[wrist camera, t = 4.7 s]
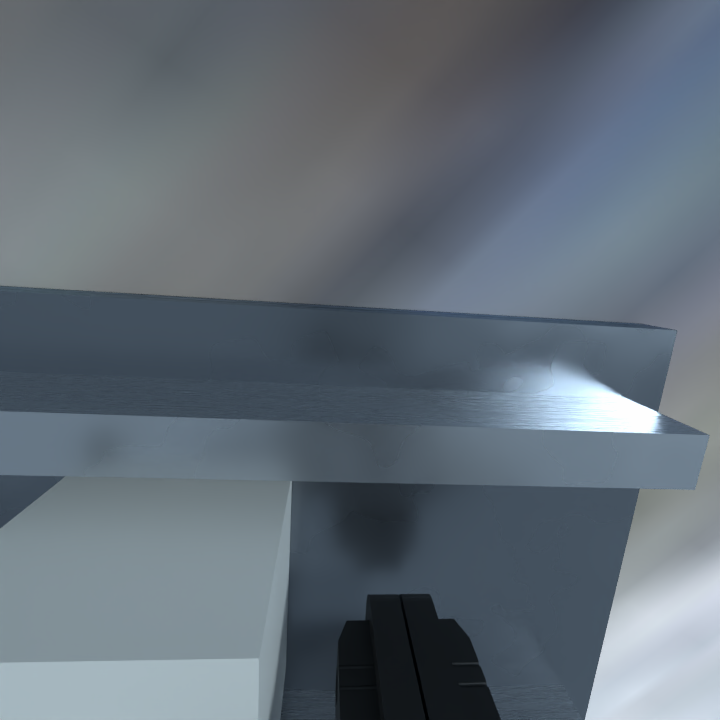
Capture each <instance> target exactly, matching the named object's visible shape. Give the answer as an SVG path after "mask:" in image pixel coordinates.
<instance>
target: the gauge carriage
mask: <svg viewBox="0 0 720 720" xmlns="http://www.w3.org/2000/svg"><path fill="white" fill-rule="evenodd" d="M291 495H292V481H263V480H216V479H168V478H121V477H74V476H65V477H64V478H63V479H62V480H60V481H59V482H58V483H57V484H55V485H54V486H53V487H52V488H50V489H49V490H48V491H47V492H45V493H44V494H43V495H42V496H40V497H39V498H38V499H37V500H35V501H34V502H33V503H32V504H30V505H29V506H28V507H27V508H25V509H24V510H23V511H22V512H20V513H19V514H18V515H17V516H15V517H14V518H13V519H12V520H10V521H9V522H8V523H7V524H5V525H4V526H3V527H2V528H0V720H280V718H281V708H282V699H283V689H284V680H285V671H286V650H287V619H288V588H289V557H290V526H291Z"/></svg>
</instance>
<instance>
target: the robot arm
mask: <svg viewBox="0 0 720 720" xmlns="http://www.w3.org/2000/svg"><path fill="white" fill-rule="evenodd" d="M335 720H501V718H500V716H499V713H498V710H497V708H496V705H495V702H494V700H493V697H492V695H491V692H490V689H489V687H487V684H486V679H485V676H484V674H483V671H482V668H481V666H479V661H478V658H477V655H476V653H475V650H474V648H473V645H472V642H471V640H470V638H469V636H468V635H467V634H466V633H465V632H464V630H463V629H462V628H461V627H460V626H459V624H458V623H457V622H456V621H455V620H454V619H438V616H437V613H436V610H435V606H434V603H433V600H432V597H431V595H430V594H399V595H398V594H368V595H367V601H366V614H365V620H352V621H346V623H345V625H344V628H343V630H342V633H341V635H340V637H339V640H338V650H337V668H336V686H335Z"/></svg>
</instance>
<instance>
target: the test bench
mask: <svg viewBox="0 0 720 720" xmlns="http://www.w3.org/2000/svg"><path fill="white" fill-rule="evenodd" d="M676 334H677V330H673V329H667V328H662V327H656V326H651V325H645V324H637V323H620V322H603V321H586V320H569V319H552V318H535V317H519V316H502V315H485V314H468V313H451V312H434V311H417V310H400V309H383V308H366V307H350V306H333V305H316V304H299V303H282V302H265V301H248V300H231V299H214V298H197V297H181V296H164V295H147V294H130V293H113V292H96V291H79V290H62V289H45V288H28V287H12V286H0V528H2V527H3V526H4V525H5V524H7V523H8V522H9V521H10V520H12V519H13V518H14V517H15V516H17V515H18V514H19V513H20V512H22V511H23V510H24V509H25V508H27V507H28V506H29V505H30V504H32V503H33V502H34V501H35V500H37V499H38V498H39V497H40V496H42V495H43V494H44V493H45V492H47V491H48V490H49V489H50V488H52V487H53V486H54V485H55V484H57V483H58V482H59V481H60V480H62V479H63V478H64V477H65V476H74V477H121V478H168V479H216V480H263V481H292V495H291V526H290V557H289V588H288V619H287V650H286V671H285V680H284V689H283V699H282V708H281V718H280V720H335V686H336V668H337V650H338V640H339V637H340V635H341V633H342V630H343V628H344V625H345V623H346V621H352V620H365V614H366V601H367V595H368V594H398V595H399V594H430V595H431V597H432V600H433V603H434V606H435V610H436V613H437V616H438V619H454V620H455V621H456V622H457V623H458V624H459V626H460V627H461V628H462V629H463V630H464V632H465V633H466V634H467V635H468V636H469V638H470V640H471V642H472V645H473V648H474V650H475V653H476V655H477V658H478V661H479V666H481V668H482V671H483V674H484V676H485V679H486V684H487V687H489V689H490V692H491V695H492V697H493V700H494V702H495V705H496V708H497V710H498V713H499V716H500V718H501V720H585V716H586V712H587V708H588V703H589V699H590V695H591V691H592V687H593V682H594V678H595V674H596V670H597V666H598V661H599V657H600V653H601V649H602V645H603V640H604V636H605V632H606V628H607V624H608V619H609V615H610V611H611V607H612V603H613V598H614V594H615V590H616V586H617V582H618V577H619V573H620V569H621V565H622V561H623V556H624V552H625V548H626V544H627V540H628V535H629V531H630V527H631V523H632V519H633V514H634V510H635V506H636V502H637V498H638V493H639V489H640V488H642V489H689V490H695V487H696V483H697V480H698V476H699V472H700V469H701V465H702V461H703V458H704V454H705V450H706V447H707V443H708V439H709V435H708V434H706V433H703V432H701V431H699V430H697V429H694V428H692V427H690V426H688V425H685V424H683V423H681V422H679V421H676V420H674V419H672V418H670V417H667V416H665V415H663V414H660V413H658V409H659V405H660V401H661V397H662V393H663V388H664V384H665V380H666V376H667V372H668V367H669V363H670V359H671V355H672V351H673V346H674V342H675V338H676Z"/></svg>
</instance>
